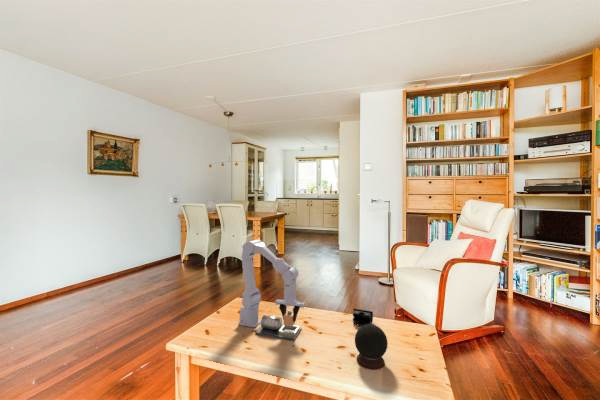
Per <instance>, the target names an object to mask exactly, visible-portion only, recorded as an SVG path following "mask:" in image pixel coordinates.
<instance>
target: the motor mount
mask: <svg viewBox="0 0 600 400" xmlns="http://www.w3.org/2000/svg"><path fill="white" fill-rule="evenodd" d="M260 320H261V322H260V327H259V328H258V329H256V331H255V335H258V336H263V337H270V338H276V339H282V340H286V341H292V342H295V341H296V339H297V338H298V335H299V334H300V333H301V331H302V328H303V327H301V326H300V325H295V324H294V325H293V326H285V325H284V324H283V317H279V316H273V315H266V314H263V316H262V317H261V319H260Z"/></svg>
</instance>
